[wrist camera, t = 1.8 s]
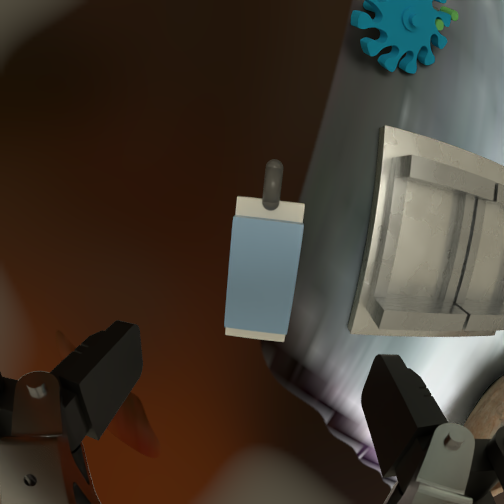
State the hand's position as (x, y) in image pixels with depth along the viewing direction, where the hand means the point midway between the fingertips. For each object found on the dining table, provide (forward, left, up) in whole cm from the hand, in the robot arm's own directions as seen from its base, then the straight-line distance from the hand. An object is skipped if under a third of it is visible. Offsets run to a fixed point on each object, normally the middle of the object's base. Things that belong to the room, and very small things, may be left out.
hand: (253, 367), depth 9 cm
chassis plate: (-3, +16, -13) cm, 21 cm away
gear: (-20, +9, -14) cm, 26 cm away
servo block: (-1, 0, -13) cm, 14 cm away
